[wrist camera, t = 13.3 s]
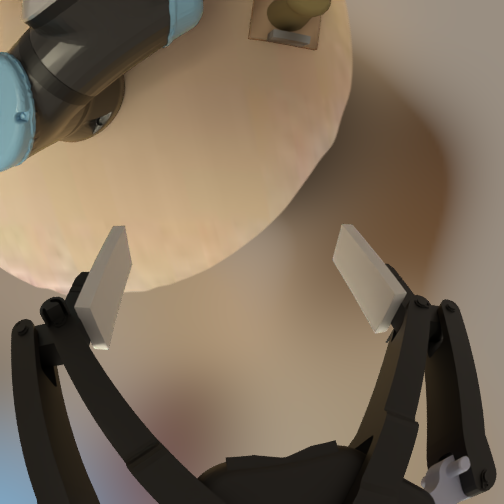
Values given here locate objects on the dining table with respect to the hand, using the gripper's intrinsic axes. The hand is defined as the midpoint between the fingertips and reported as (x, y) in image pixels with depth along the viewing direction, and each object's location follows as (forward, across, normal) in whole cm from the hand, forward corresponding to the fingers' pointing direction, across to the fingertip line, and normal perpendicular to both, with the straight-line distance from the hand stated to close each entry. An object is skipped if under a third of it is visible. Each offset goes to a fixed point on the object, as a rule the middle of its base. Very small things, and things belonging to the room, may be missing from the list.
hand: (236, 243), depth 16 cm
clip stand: (+28, +8, +22) cm, 37 cm away
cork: (+28, +8, +22) cm, 36 cm away
